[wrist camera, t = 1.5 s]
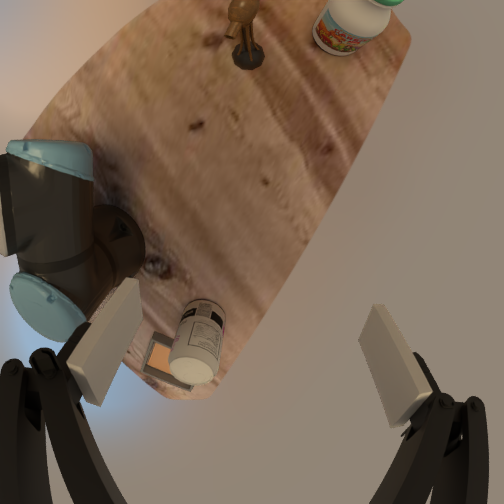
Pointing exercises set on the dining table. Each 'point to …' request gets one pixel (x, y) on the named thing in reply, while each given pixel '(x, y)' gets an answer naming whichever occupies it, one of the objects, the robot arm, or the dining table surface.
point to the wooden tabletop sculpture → (244, 33)
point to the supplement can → (198, 343)
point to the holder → (161, 361)
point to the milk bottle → (351, 24)
